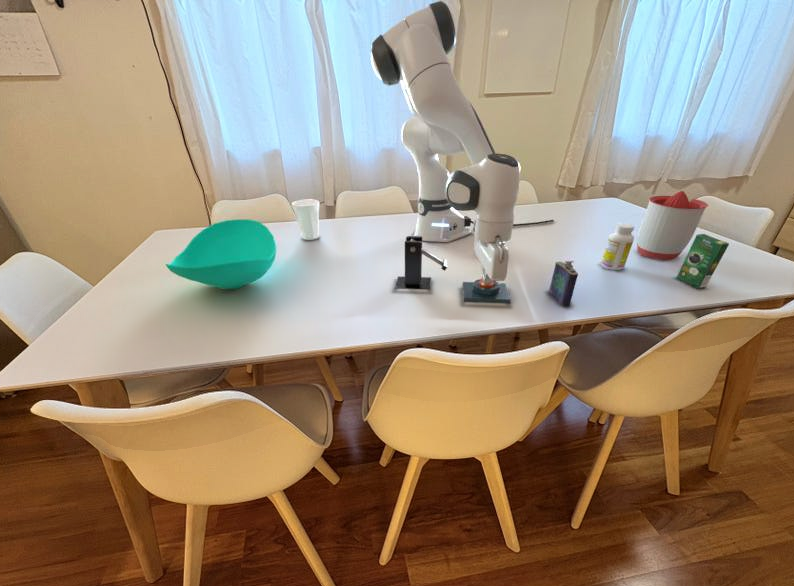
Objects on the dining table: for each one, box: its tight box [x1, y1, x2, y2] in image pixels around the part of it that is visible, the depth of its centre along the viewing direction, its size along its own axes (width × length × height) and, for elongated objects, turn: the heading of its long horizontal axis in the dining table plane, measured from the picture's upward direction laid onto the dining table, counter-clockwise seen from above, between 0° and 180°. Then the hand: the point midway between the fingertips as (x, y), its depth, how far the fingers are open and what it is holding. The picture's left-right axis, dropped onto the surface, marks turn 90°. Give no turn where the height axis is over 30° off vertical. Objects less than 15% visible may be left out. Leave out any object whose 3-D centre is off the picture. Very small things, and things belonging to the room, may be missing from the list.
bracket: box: [394, 235, 432, 291], centre depth 104 cm, size 10×8×14 cm
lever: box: [410, 238, 448, 271], centre depth 102 cm, size 12×5×2 cm, turn 86°
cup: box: [291, 198, 320, 241], centre depth 140 cm, size 10×10×13 cm
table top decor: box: [165, 218, 277, 290], centre depth 108 cm, size 40×28×13 cm
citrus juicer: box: [636, 190, 709, 261], centre depth 121 cm, size 16×17×20 cm
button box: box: [461, 278, 512, 304], centre depth 101 cm, size 12×10×4 cm
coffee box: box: [676, 233, 730, 290], centre depth 104 cm, size 8×3×13 cm, turn 13°
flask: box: [548, 260, 579, 308], centre depth 98 cm, size 9×3×11 cm, turn 8°
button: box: [479, 280, 494, 288], centre depth 100 cm, size 4×4×2 cm
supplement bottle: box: [600, 222, 635, 271], centre depth 114 cm, size 7×7×13 cm
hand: (486, 282), depth 99 cm, fingers closed, pressing on button
